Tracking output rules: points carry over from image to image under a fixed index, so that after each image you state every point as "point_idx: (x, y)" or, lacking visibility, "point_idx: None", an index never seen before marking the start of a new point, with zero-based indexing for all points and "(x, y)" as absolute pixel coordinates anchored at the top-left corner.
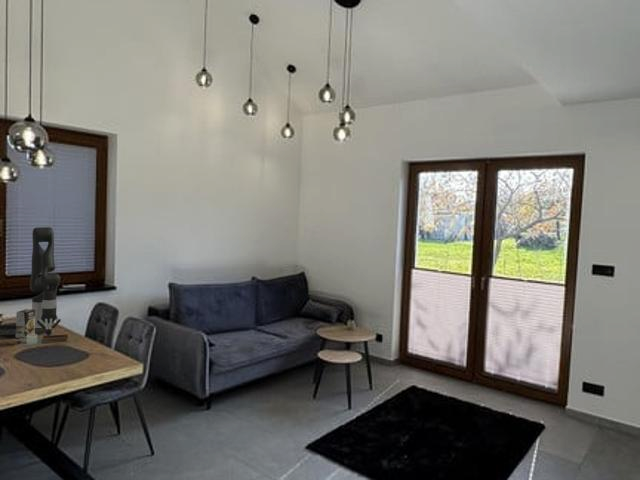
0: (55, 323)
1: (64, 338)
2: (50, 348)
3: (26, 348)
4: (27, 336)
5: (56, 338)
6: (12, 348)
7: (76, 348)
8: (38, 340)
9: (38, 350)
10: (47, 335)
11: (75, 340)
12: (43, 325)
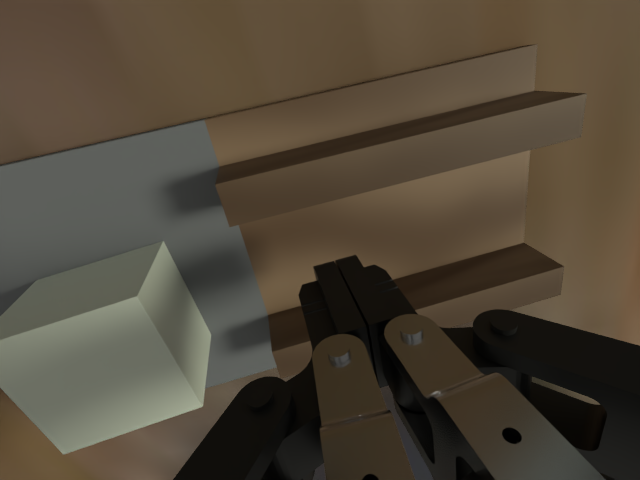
0: (615, 460)
1: (530, 298)
2: (397, 424)
3: (188, 455)
4: (53, 431)
5: (448, 327)
6: (43, 476)
7: (580, 398)
8: (174, 224)
9: (318, 476)
10: (286, 188)
11: (601, 160)
12: (257, 457)
